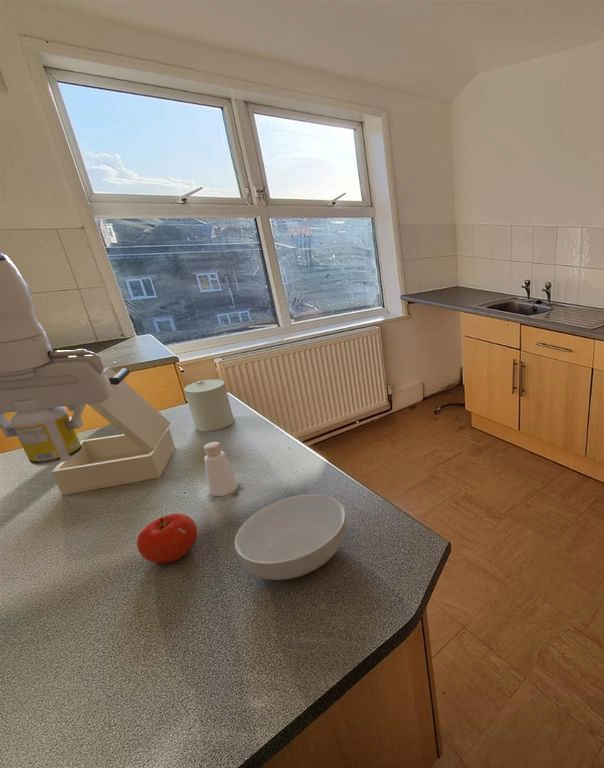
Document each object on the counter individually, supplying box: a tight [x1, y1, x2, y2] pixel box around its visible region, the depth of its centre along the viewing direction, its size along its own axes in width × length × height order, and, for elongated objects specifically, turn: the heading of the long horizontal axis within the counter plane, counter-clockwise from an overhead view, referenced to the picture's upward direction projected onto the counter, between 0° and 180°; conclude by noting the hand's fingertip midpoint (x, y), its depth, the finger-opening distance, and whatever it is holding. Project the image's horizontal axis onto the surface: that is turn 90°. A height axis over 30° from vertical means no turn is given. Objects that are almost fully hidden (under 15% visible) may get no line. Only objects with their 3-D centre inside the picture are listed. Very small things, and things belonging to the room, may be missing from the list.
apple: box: [136, 513, 198, 564], centre depth 73 cm, size 8×8×8 cm
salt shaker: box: [203, 441, 240, 497], centre depth 90 cm, size 5×5×11 cm
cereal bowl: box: [234, 494, 348, 581], centre depth 74 cm, size 17×17×7 cm
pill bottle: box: [10, 400, 82, 467], centre depth 73 cm, size 6×6×12 cm
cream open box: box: [51, 427, 176, 496], centre depth 97 cm, size 17×14×6 cm
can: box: [183, 378, 235, 433], centre depth 116 cm, size 9×9×12 cm
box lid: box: [87, 366, 171, 454], centre depth 94 cm, size 17×14×6 cm
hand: (46, 431), depth 73 cm, fingers closed on pill bottle, 6 cm apart
